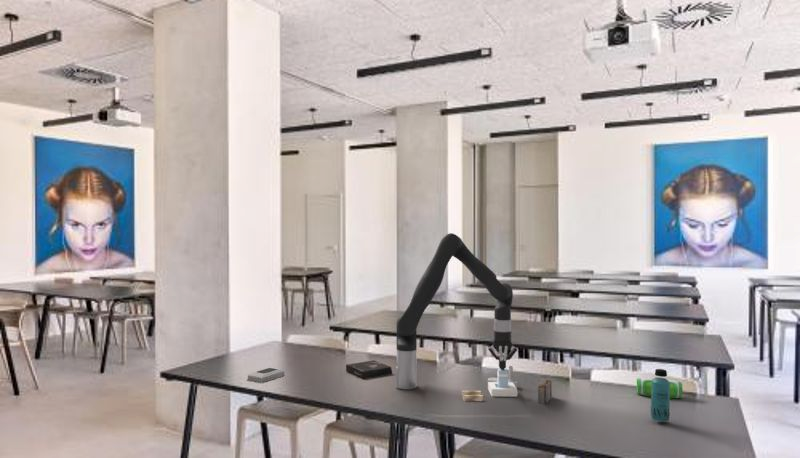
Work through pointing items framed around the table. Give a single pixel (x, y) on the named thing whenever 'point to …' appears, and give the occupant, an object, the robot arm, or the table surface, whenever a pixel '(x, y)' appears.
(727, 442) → the table surface
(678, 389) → the speaker
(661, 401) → the beverage bottle
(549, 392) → the marbled rust block
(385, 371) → the portable cd player
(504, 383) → the plug
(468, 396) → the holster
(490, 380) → the electronic device
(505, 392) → the socket
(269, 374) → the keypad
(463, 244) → the robot arm
